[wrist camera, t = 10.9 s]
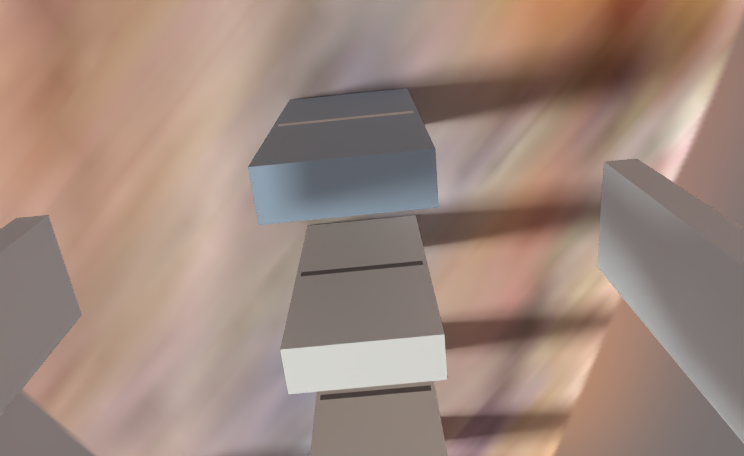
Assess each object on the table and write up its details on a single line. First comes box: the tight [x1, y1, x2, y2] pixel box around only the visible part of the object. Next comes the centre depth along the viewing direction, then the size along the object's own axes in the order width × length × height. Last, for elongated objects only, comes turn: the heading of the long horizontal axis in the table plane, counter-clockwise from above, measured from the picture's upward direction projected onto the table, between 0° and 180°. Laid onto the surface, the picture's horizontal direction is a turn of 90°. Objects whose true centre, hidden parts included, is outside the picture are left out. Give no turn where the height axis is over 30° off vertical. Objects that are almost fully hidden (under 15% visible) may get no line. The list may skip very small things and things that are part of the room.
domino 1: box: [280, 215, 447, 394], centre depth 27 cm, size 2×6×12 cm, turn 96°
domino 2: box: [310, 381, 448, 456], centre depth 30 cm, size 2×6×12 cm, turn 95°
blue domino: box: [248, 88, 439, 225], centre depth 25 cm, size 2×6×12 cm, turn 96°
